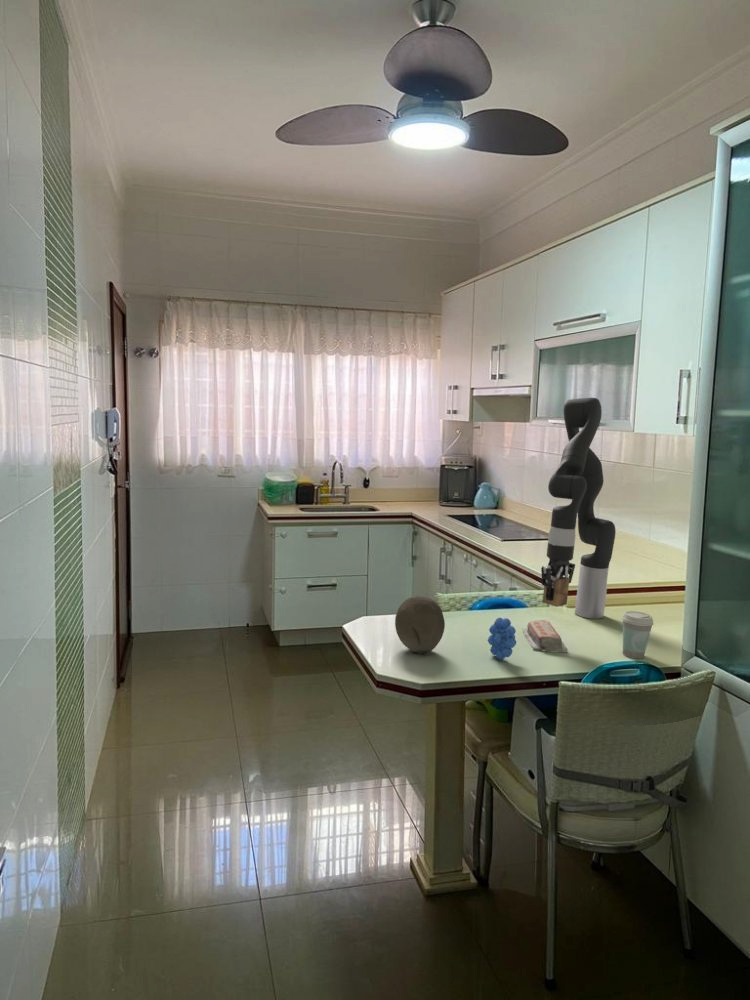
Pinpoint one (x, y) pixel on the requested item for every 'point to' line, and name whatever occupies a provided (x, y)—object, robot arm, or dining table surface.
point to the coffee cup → (636, 633)
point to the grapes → (502, 638)
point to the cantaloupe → (420, 624)
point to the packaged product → (544, 637)
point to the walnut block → (558, 592)
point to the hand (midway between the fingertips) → (554, 598)
